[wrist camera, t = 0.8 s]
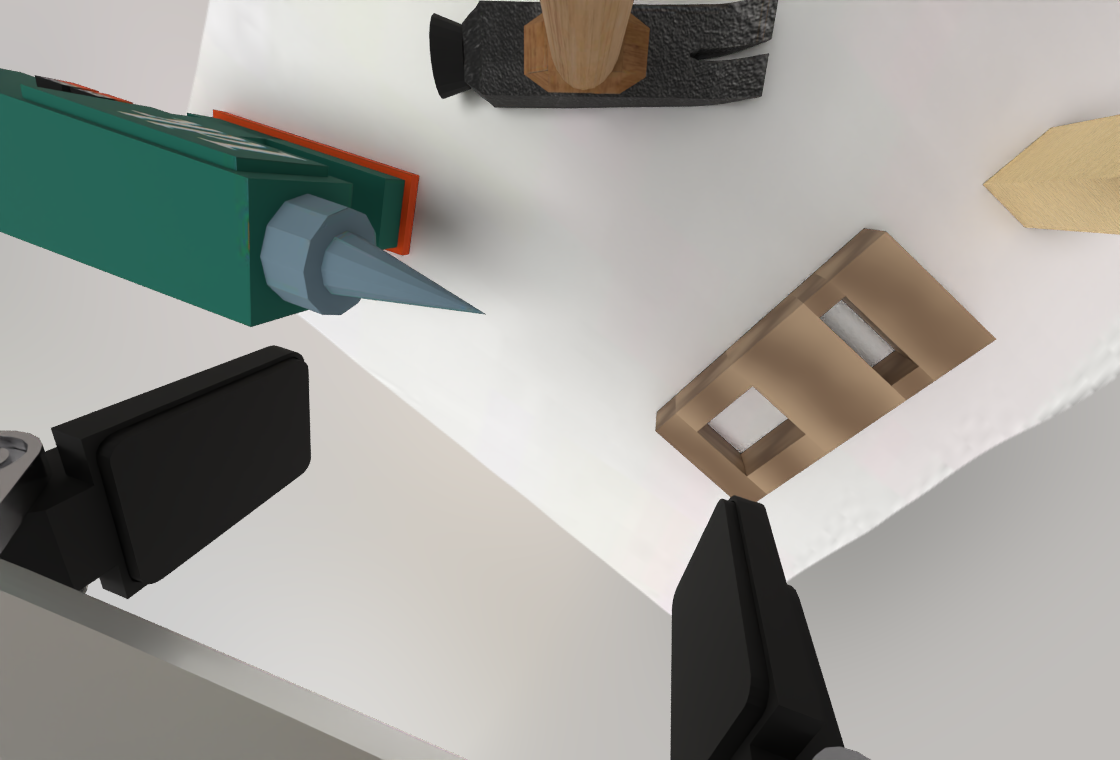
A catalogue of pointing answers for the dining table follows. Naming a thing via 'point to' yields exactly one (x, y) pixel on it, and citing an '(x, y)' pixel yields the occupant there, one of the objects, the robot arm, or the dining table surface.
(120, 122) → the power tool
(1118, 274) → the dining table surface
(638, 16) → the hammer
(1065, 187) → the square bit
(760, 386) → the block
